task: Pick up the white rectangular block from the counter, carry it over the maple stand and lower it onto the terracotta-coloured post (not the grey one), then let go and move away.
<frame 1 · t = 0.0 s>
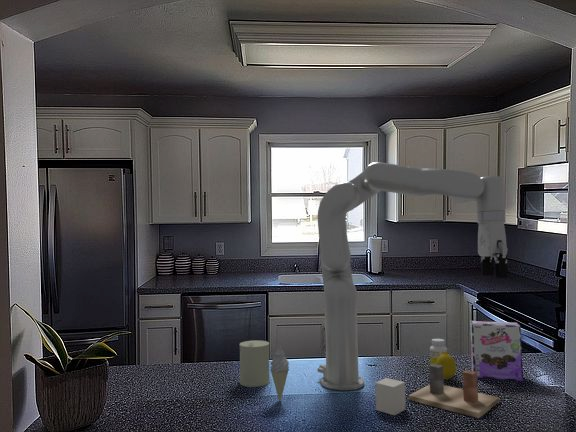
hand: (494, 276, 126), 31 cm above the countertop, tool pointing down, fingers open, 9 cm apart
candy box: (496, 377, 132), on the countertop
ice cream cone: (280, 401, 114), on the countertop
can: (254, 382, 130), on the countertop
white rectangular block: (390, 409, 107), on the countertop
lemon: (446, 380, 129), on the countertop
stand: (453, 401, 112), on the countertop
supplement bottle: (439, 371, 139), on the countertop
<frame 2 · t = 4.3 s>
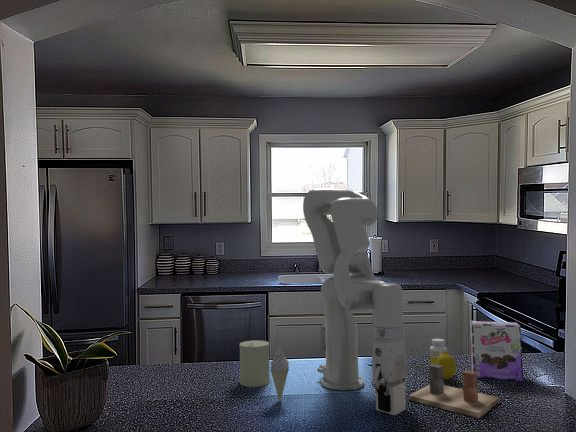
hand: (390, 406, 107), 1 cm above the countertop, tool pointing down, fingers closed on white rectangular block, 5 cm apart
white rectangular block: (390, 409, 107), on the countertop, touching gripper
everything else where it was.
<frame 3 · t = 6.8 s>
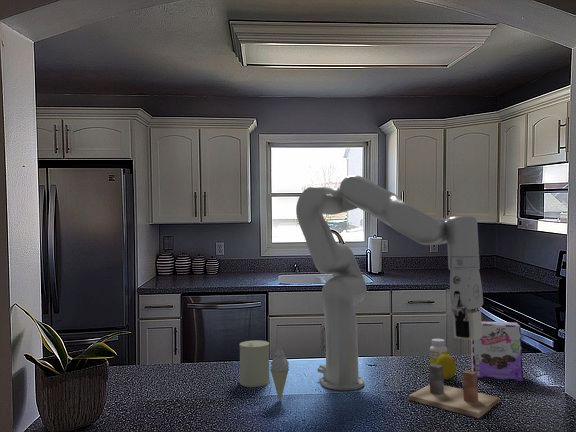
hand: (467, 334, 110), 18 cm above the countertop, tool pointing down, fingers closed on white rectangular block, 5 cm apart
white rectangular block: (468, 337, 110), point 17 cm above the countertop, touching gripper
everything else where it was.
when the fingers open (5 cm above the countertop, at t = 9.6 s): white rectangular block drops 2 cm, resting on stand.
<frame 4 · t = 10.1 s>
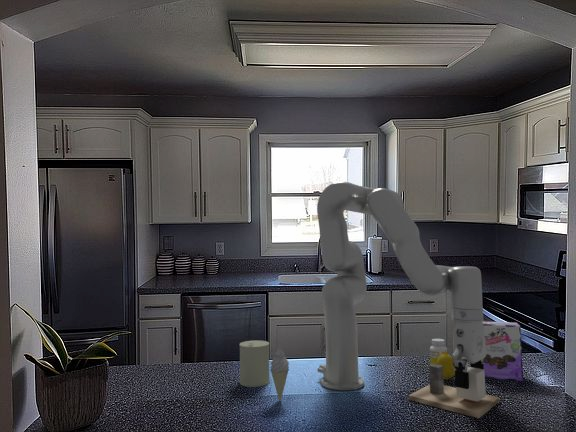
hand: (470, 383, 109), 6 cm above the countertop, tool pointing down, fingers open, 9 cm apart
white rectangular block: (471, 396, 109), point 2 cm above the countertop, touching stand
everything else where it was.
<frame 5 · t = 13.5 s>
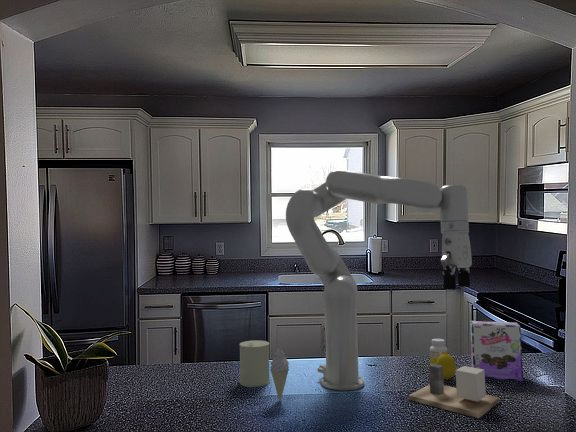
hand: (457, 288, 122), 28 cm above the countertop, tool pointing down, fingers open, 9 cm apart
nothing on the countertop moved.
at the end: white rectangular block 0.1 cm from the target spot on the stand, point 2.2 cm above the stand's base; the gripper is holding nothing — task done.
